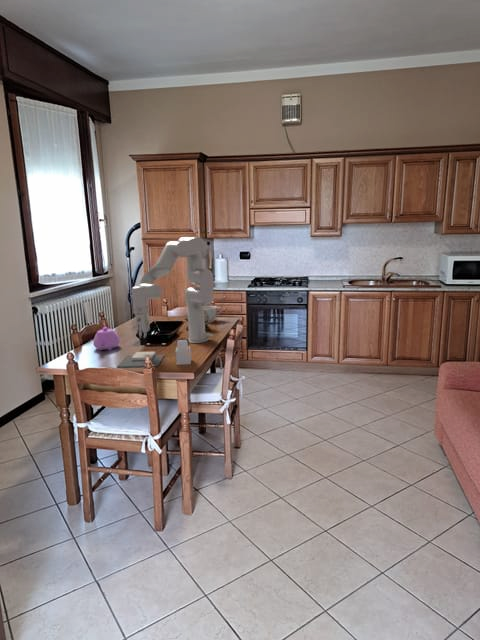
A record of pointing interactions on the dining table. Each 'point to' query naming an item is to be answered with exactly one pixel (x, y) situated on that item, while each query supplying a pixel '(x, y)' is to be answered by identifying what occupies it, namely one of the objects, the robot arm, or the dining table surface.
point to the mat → (129, 363)
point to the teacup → (211, 312)
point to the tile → (142, 355)
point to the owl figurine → (204, 320)
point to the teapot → (106, 339)
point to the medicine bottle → (183, 352)
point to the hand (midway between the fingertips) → (143, 344)
